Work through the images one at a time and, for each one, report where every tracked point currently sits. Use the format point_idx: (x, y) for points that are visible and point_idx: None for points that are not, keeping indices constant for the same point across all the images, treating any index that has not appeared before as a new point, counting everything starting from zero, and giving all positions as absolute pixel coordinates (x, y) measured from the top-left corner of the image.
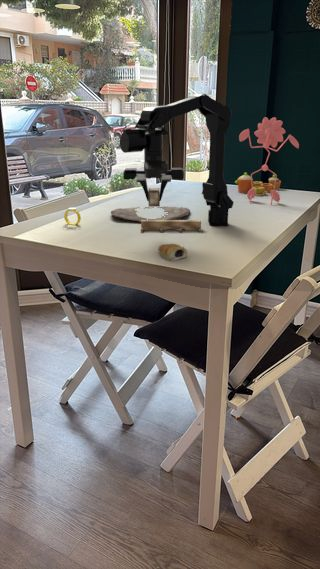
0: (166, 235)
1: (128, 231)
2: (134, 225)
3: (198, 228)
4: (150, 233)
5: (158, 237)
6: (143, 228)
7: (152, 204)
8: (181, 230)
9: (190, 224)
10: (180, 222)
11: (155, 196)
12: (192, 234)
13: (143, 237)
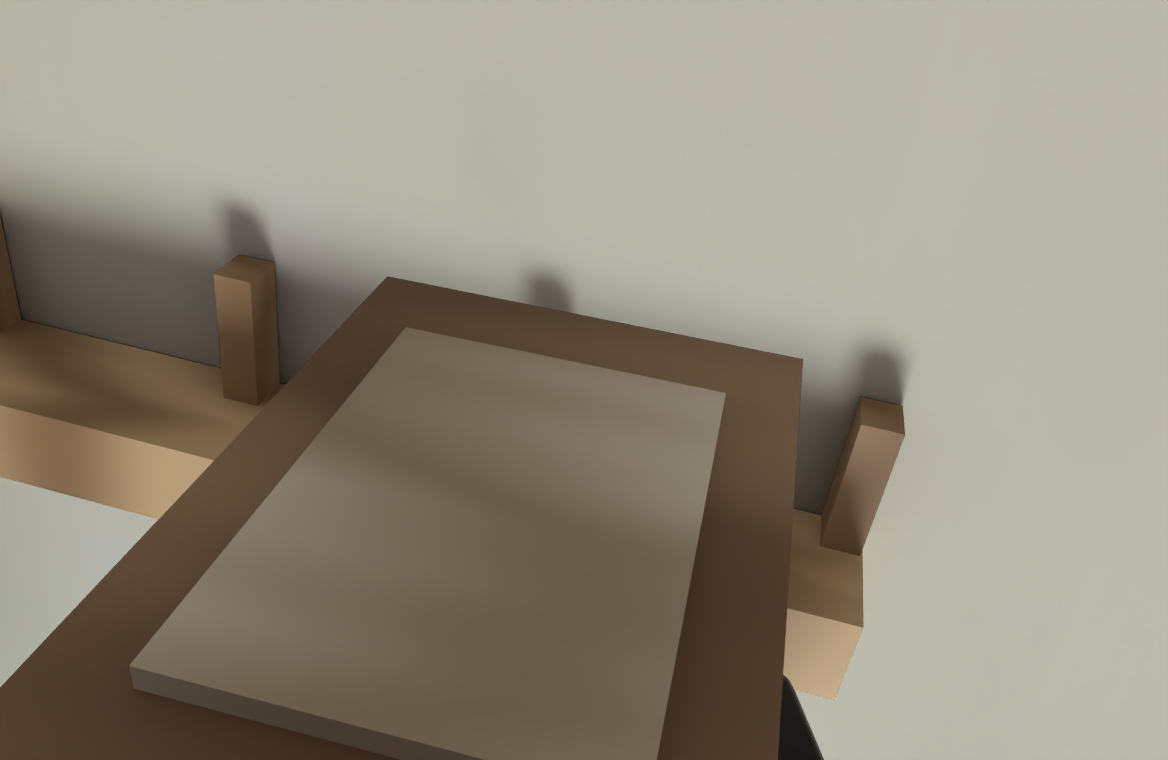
0: (487, 121)
1: (1110, 493)
2: (905, 748)
3: (2, 330)
4: (748, 298)
5: (645, 3)
6: (832, 501)
7: (635, 371)
8: (228, 267)
9: (71, 389)
10: (200, 444)
11: (382, 538)
12: (75, 109)
13: (944, 50)
